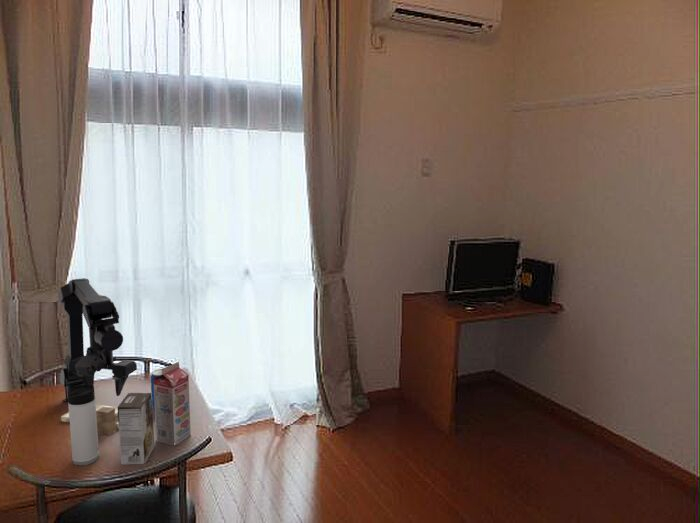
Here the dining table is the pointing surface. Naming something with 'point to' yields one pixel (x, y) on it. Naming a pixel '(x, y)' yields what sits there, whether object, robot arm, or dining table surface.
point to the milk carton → (172, 405)
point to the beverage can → (154, 374)
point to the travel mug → (83, 424)
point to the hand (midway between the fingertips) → (104, 394)
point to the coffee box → (136, 428)
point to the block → (106, 420)
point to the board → (66, 416)
